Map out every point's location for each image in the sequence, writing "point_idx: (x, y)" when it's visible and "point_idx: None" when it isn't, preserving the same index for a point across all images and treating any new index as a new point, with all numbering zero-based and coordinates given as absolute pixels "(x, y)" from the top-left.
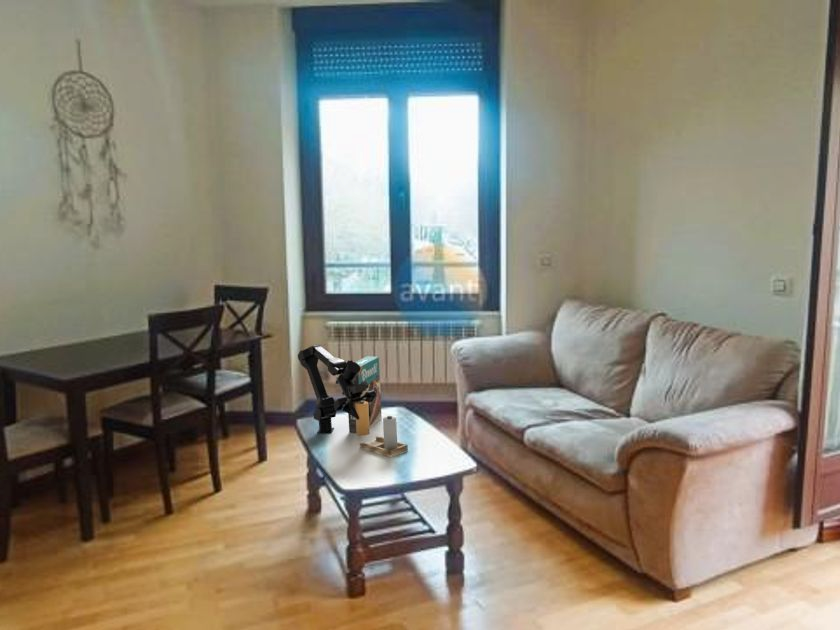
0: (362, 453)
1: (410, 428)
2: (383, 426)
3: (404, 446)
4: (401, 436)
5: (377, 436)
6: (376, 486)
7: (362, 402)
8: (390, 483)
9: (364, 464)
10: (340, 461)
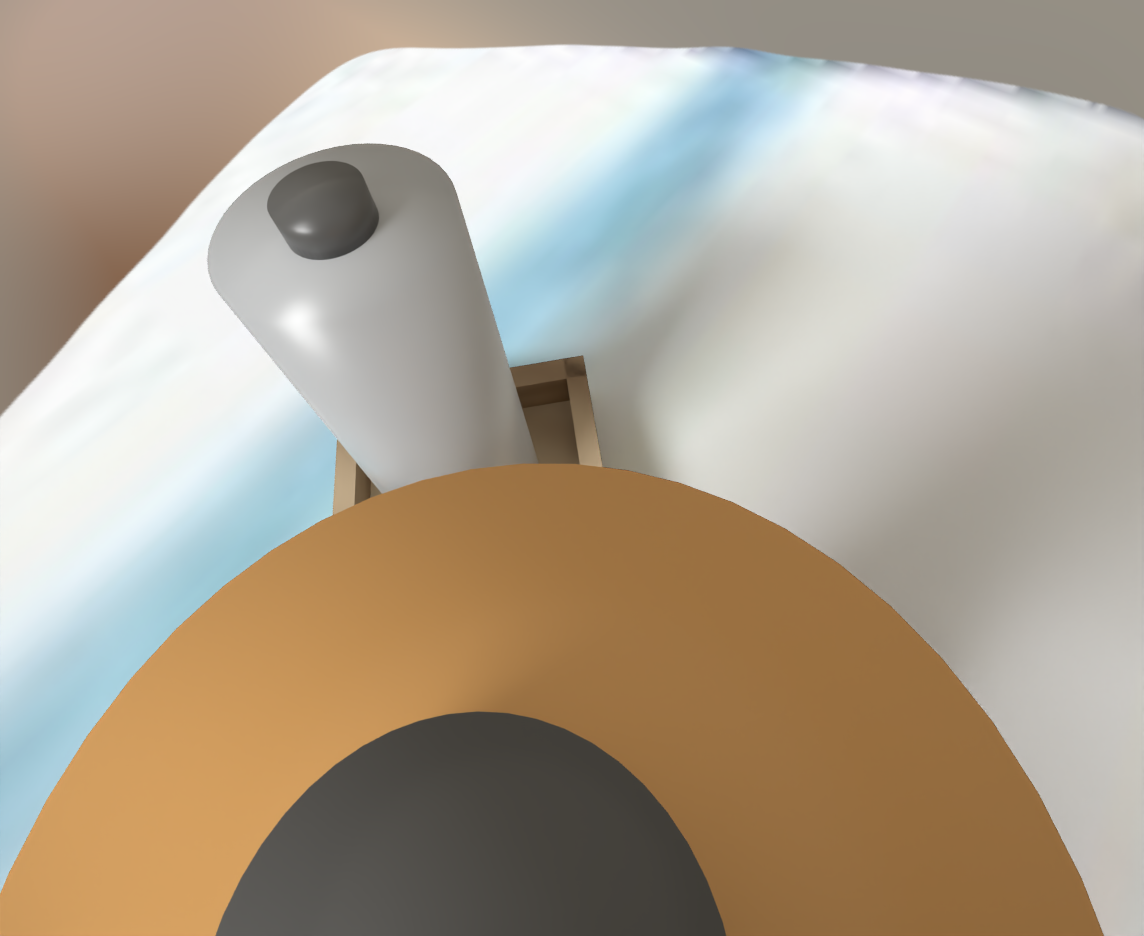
0: None
1: None
2: (479, 344)
3: None
4: None
5: None
6: (960, 84)
7: (558, 724)
8: (856, 79)
9: (870, 403)
10: (1087, 629)
